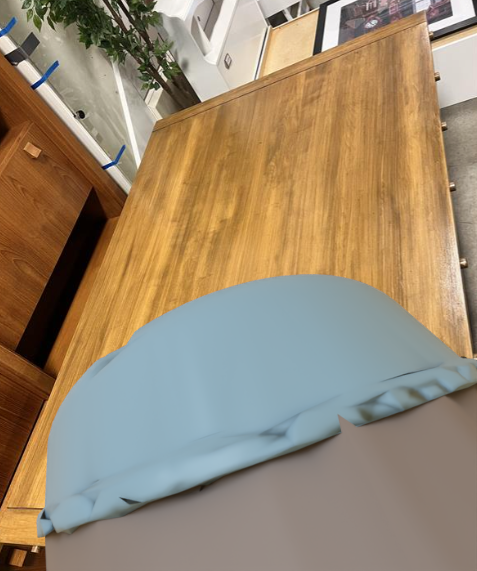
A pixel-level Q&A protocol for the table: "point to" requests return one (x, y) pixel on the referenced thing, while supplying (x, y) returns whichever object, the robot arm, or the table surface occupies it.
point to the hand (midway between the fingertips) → (322, 402)
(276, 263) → the table surface
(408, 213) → the table surface
